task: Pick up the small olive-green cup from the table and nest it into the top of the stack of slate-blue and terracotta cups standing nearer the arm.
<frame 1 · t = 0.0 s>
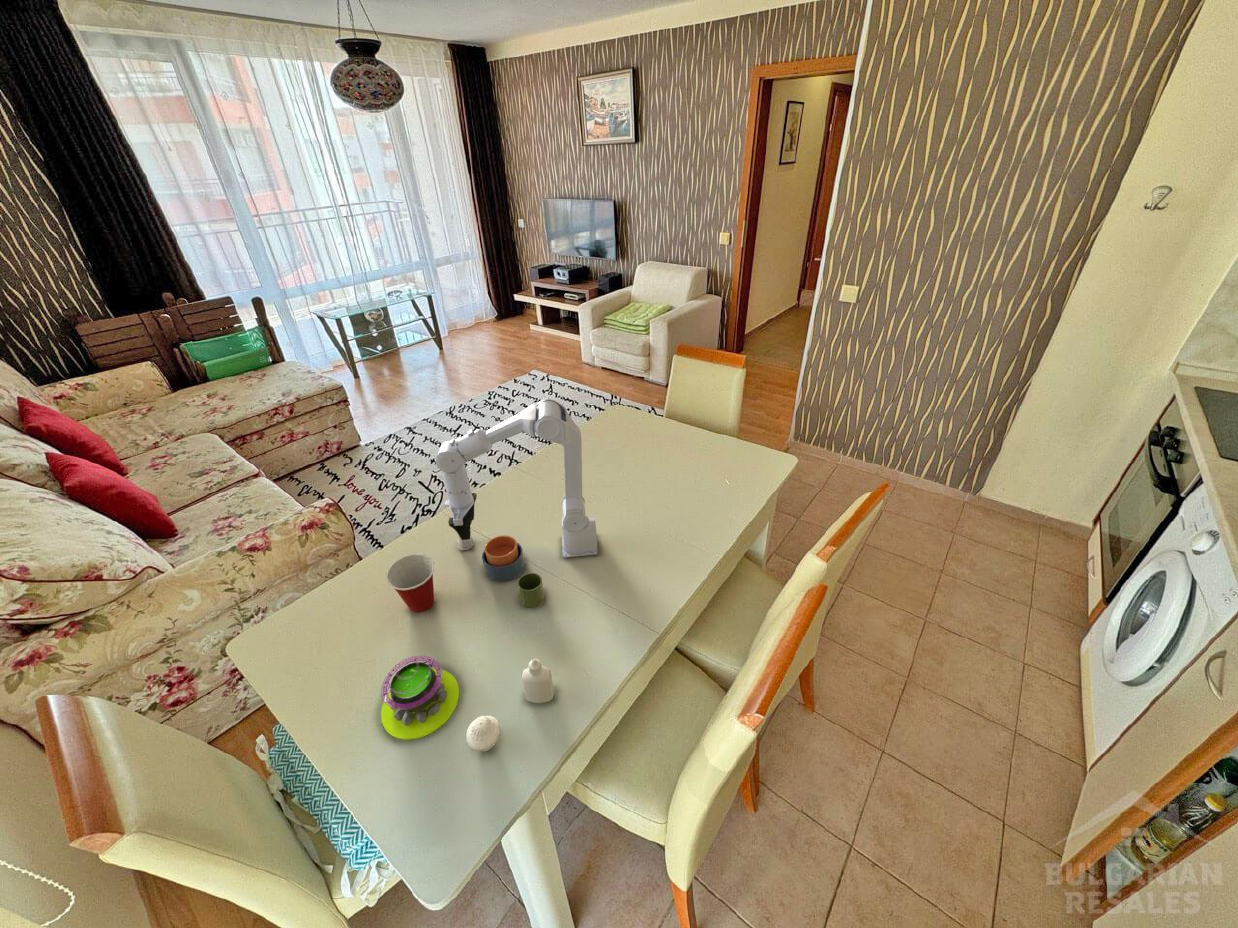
hand: (468, 529, 128), 10 cm above the table, tool pointing down, fingers open, 7 cm apart
plastic cup: (422, 604, 120), on the table
stack big: (505, 566, 130), on the table
olive cup: (532, 598, 121), on the table
rook chess piece: (466, 546, 137), on the table
white rounded egg shape: (486, 742, 92), on the table
eye dropper bottle: (540, 696, 99), on the table
toy cauldron: (421, 702, 99), on the table
stack mid: (503, 556, 128), in the stack big
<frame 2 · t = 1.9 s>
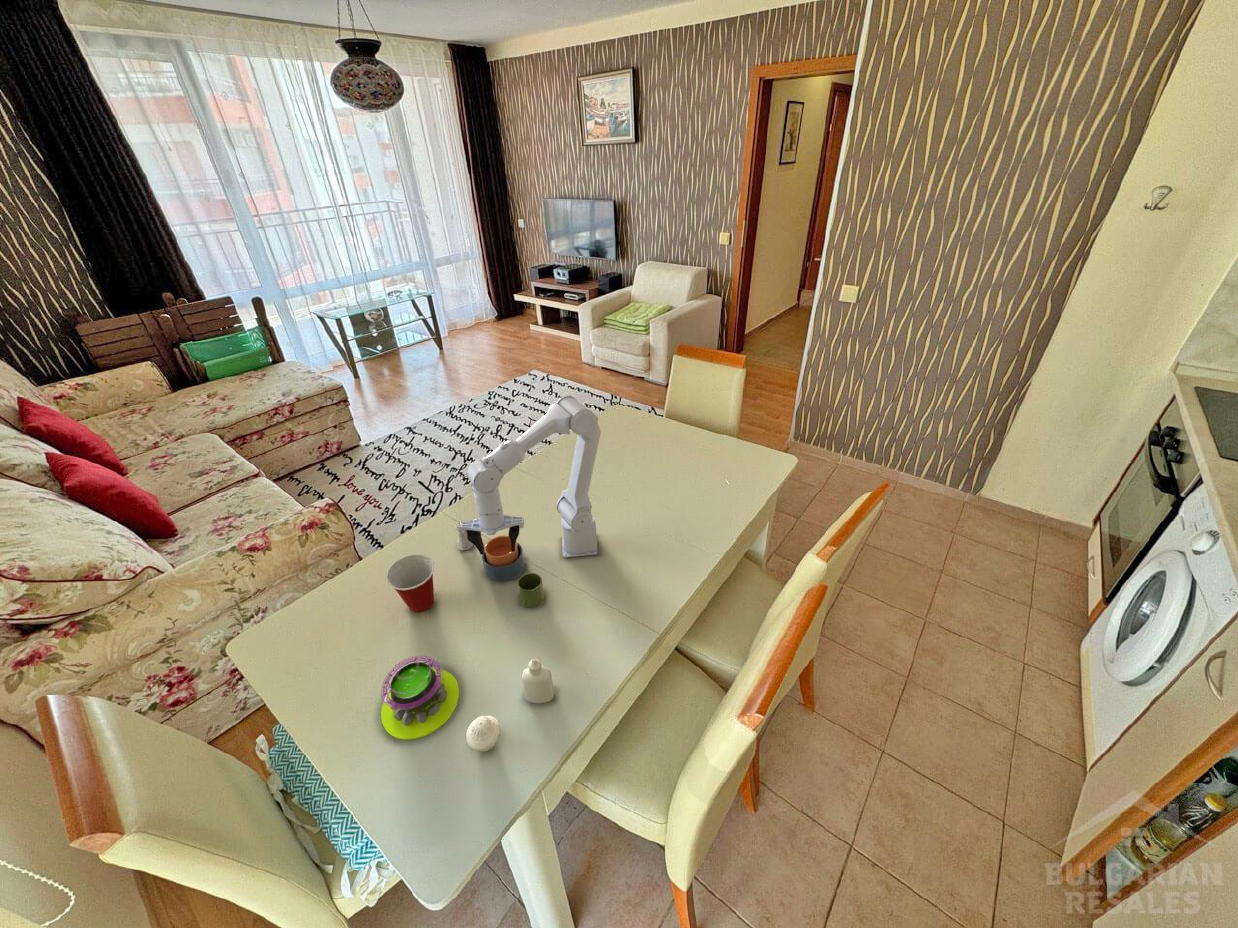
hand: (498, 550, 121), 10 cm above the table, tool pointing down, fingers open, 7 cm apart
nothing on the table moved.
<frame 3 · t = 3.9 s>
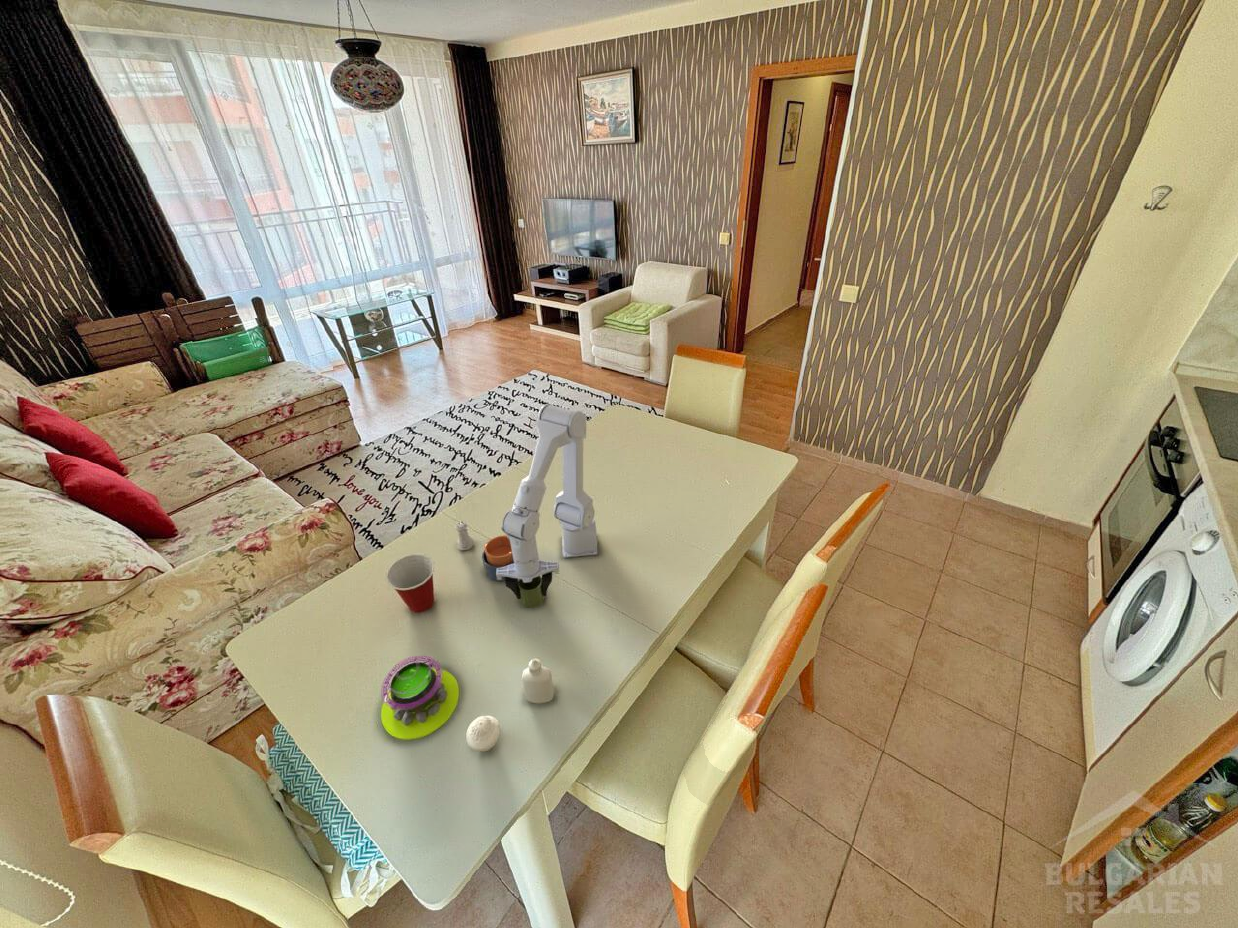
hand: (531, 594, 120), 1 cm above the table, tool pointing down, fingers closed on olive cup, 6 cm apart
olive cup: (532, 598, 121), on the table, touching gripper
everything else where it was.
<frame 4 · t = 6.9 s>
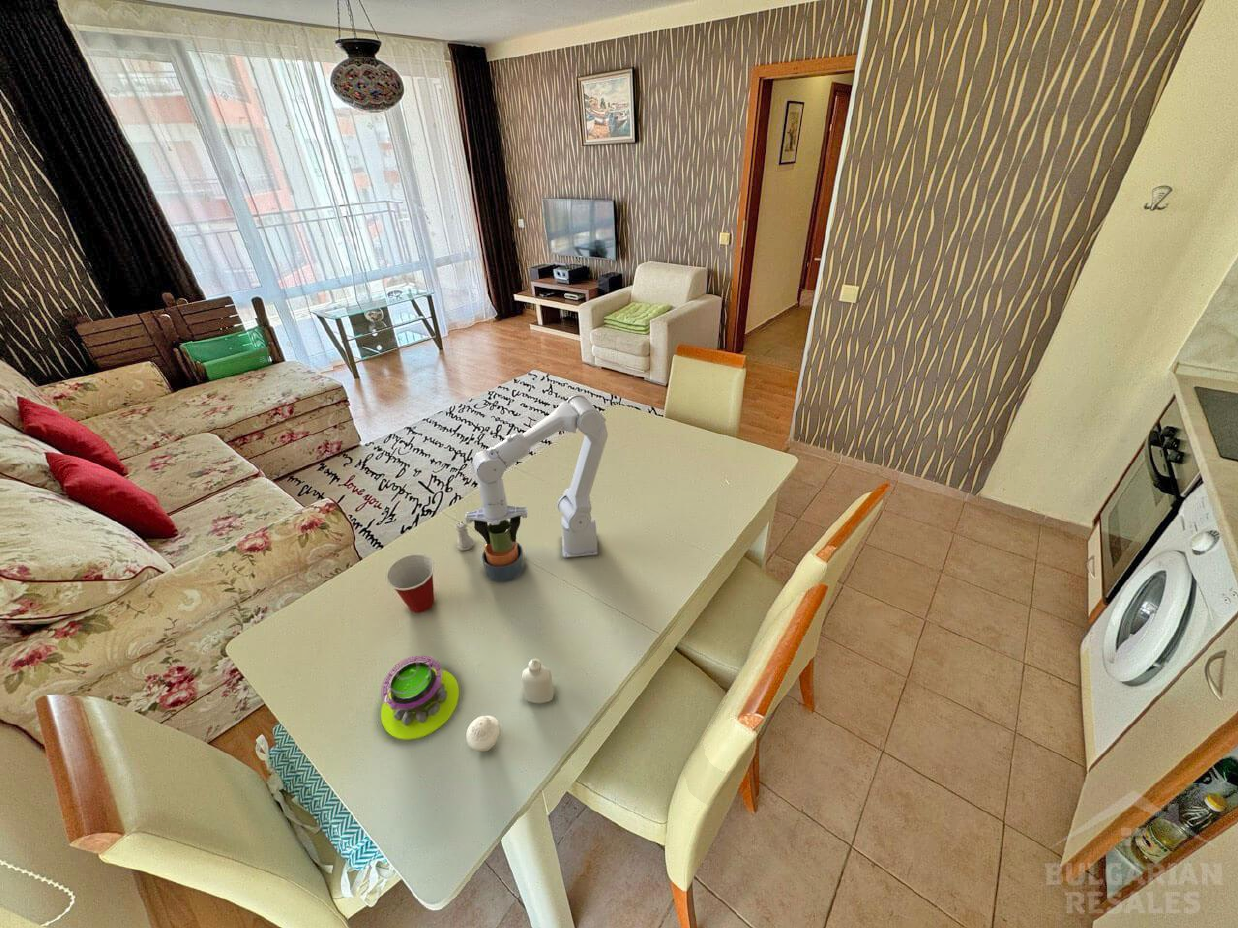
hand: (501, 540, 123), 10 cm above the table, tool pointing down, fingers closed on olive cup, 6 cm apart
olive cup: (502, 544, 124), point 9 cm above the table, touching gripper
everything else where it was.
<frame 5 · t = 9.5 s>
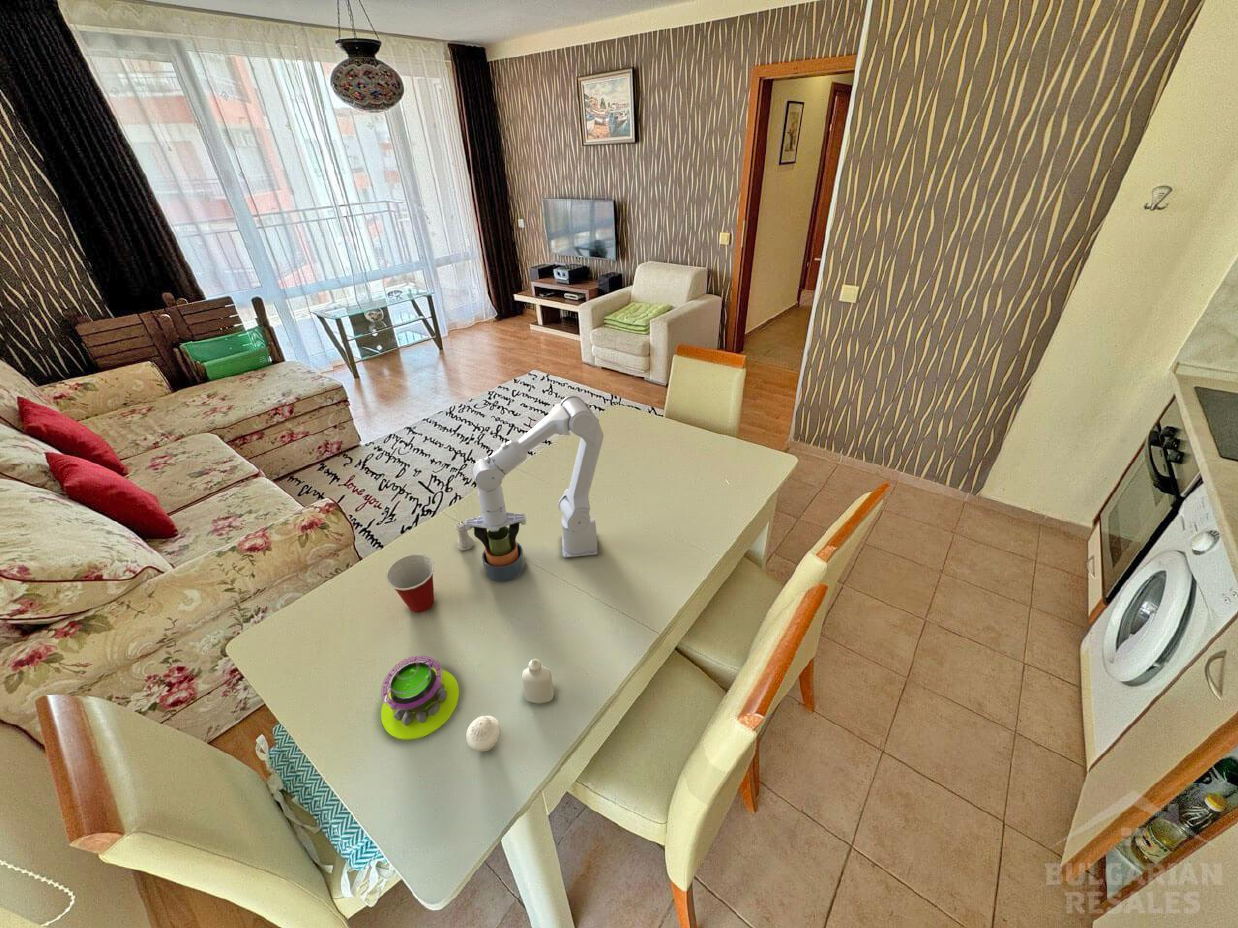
hand: (500, 546, 126), 7 cm above the table, tool pointing down, fingers closed on olive cup, 6 cm apart
olive cup: (501, 550, 127), point 6 cm above the table, touching gripper
everything else where it was.
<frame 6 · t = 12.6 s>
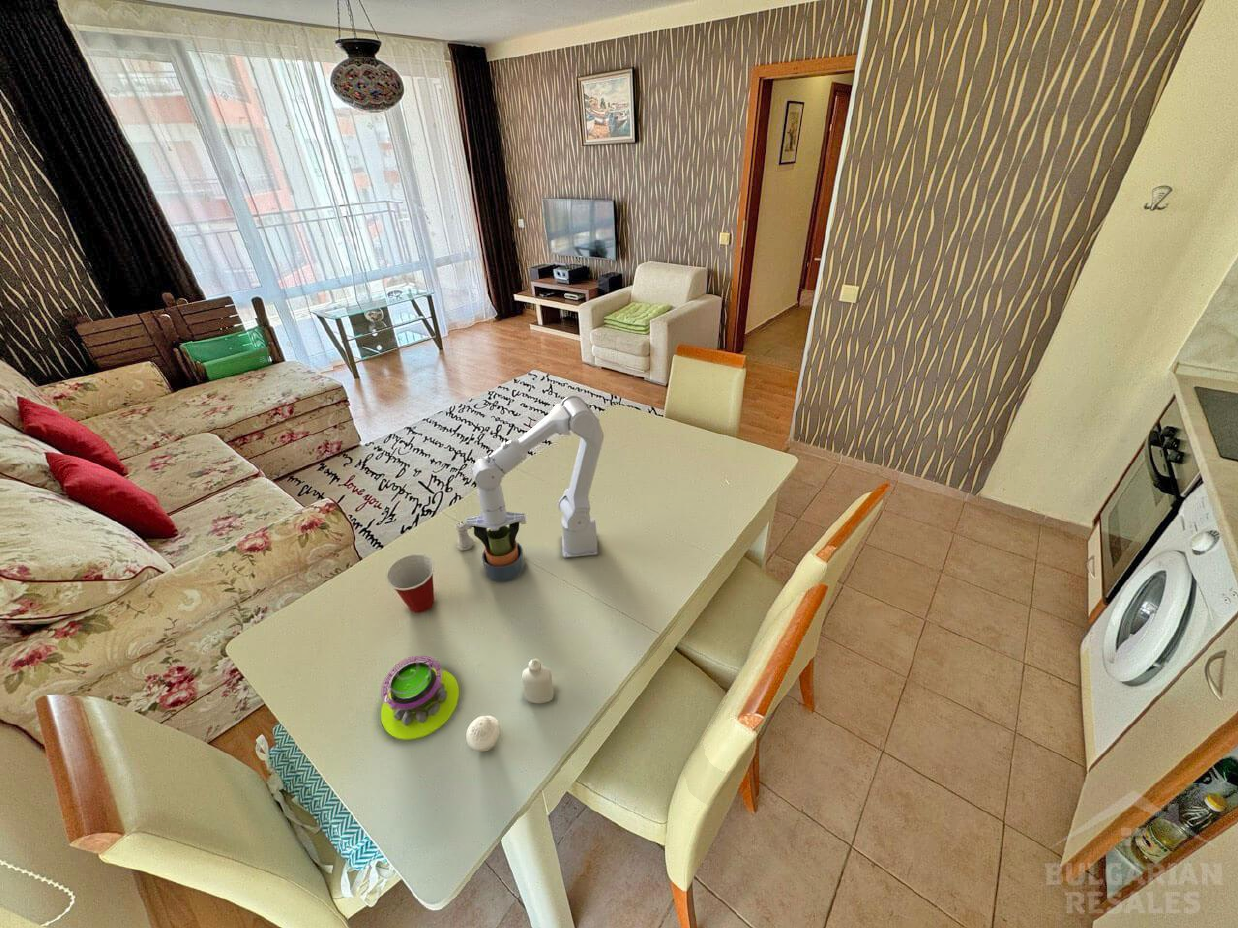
hand: (500, 545, 126), 8 cm above the table, tool pointing down, fingers closed on olive cup, 6 cm apart
olive cup: (501, 549, 126), point 6 cm above the table, touching gripper
everything else where it was.
when the fingers open (8 cm above the table, at t = 15.0 s): olive cup drops 3 cm, resting on stack mid.
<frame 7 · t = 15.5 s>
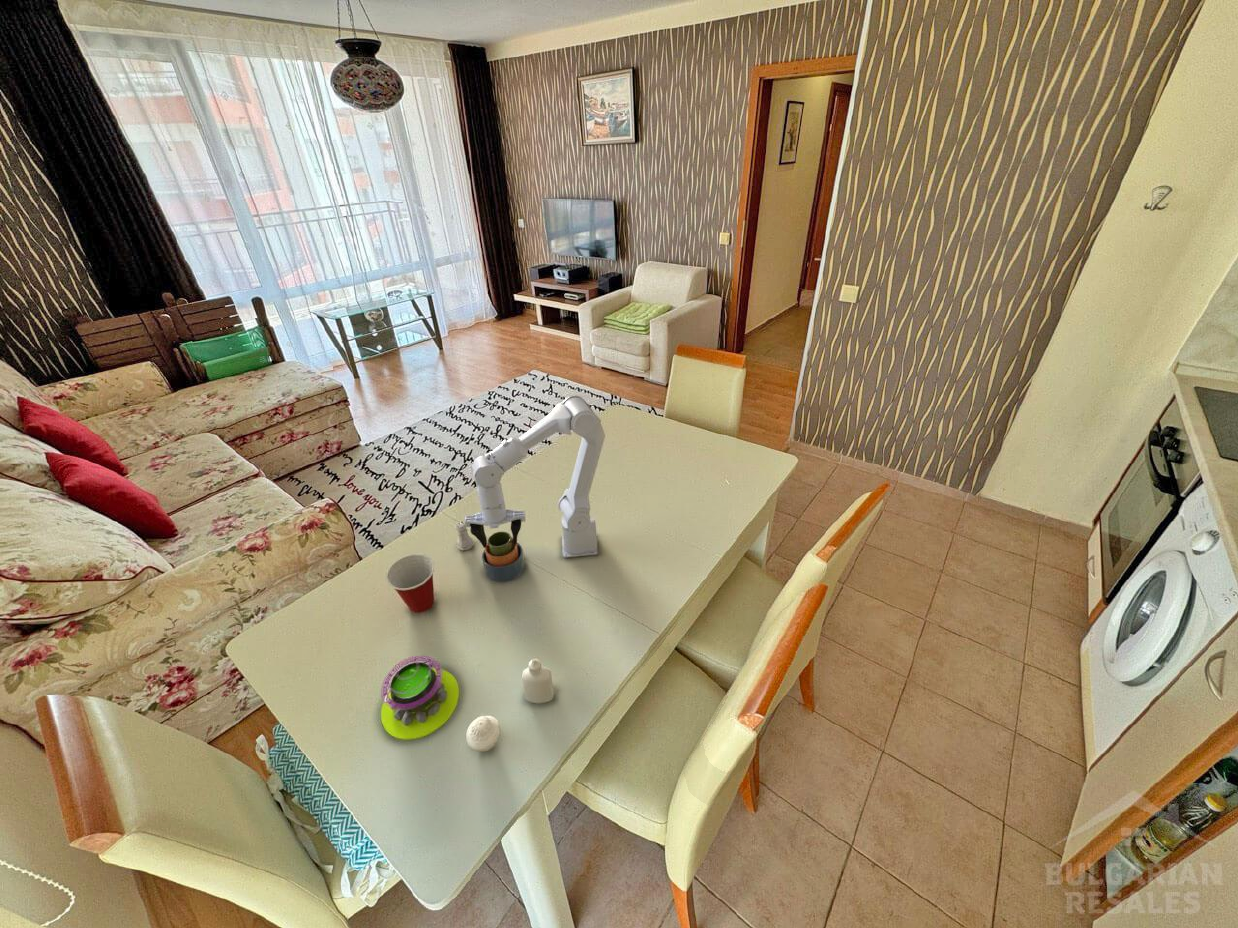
hand: (500, 543, 125), 8 cm above the table, tool pointing down, fingers open, 7 cm apart
olive cup: (502, 556, 128), point 4 cm above the table, touching stack mid
everything else where it was.
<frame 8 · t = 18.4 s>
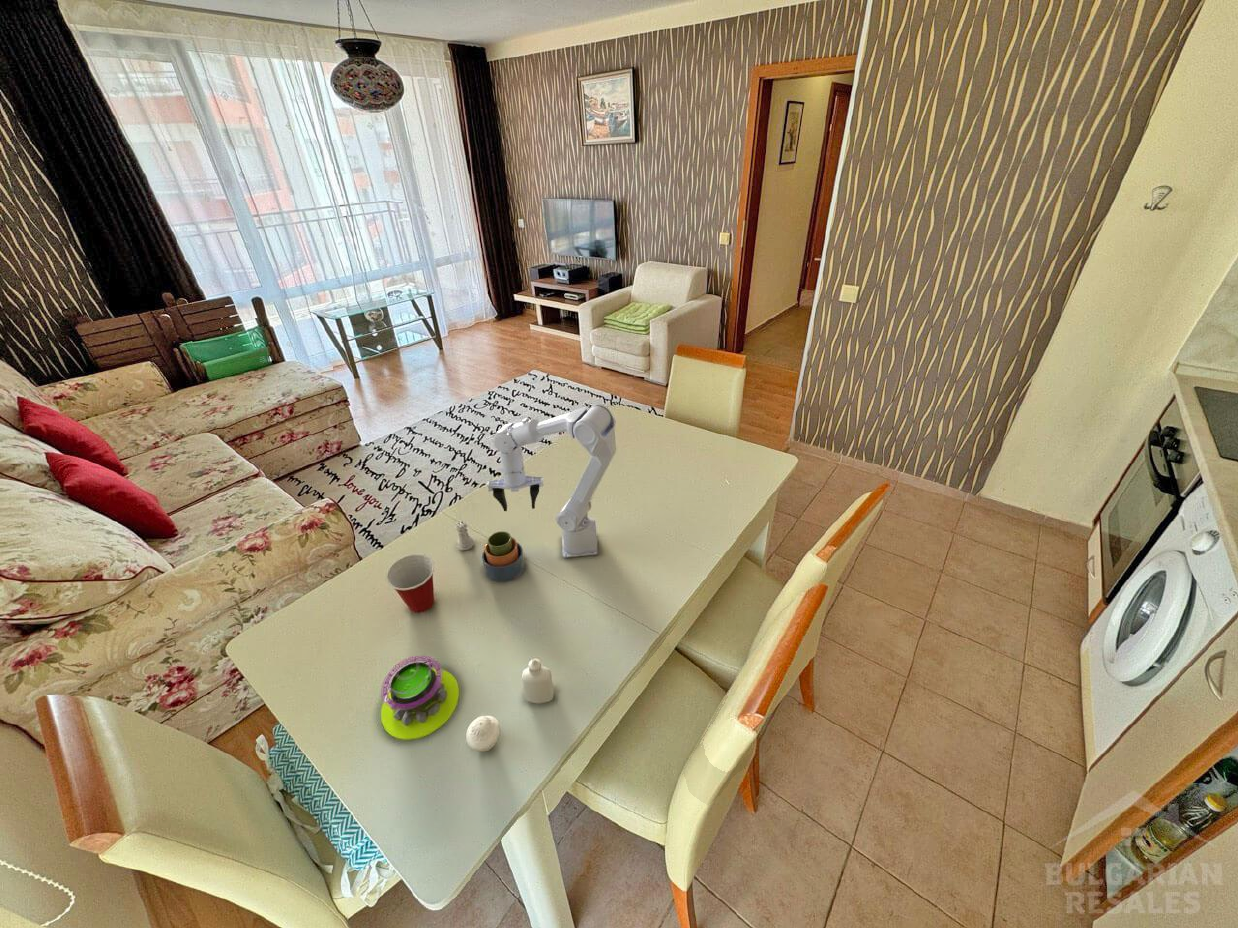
hand: (519, 507, 136), 9 cm above the table, tool pointing down, fingers open, 7 cm apart
nothing on the table moved.
at the end: olive cup 0.0 cm off-centre in the stack big, point 4.0 cm above the stack big's base; olive cup tilted 0°; the gripper is holding nothing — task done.
